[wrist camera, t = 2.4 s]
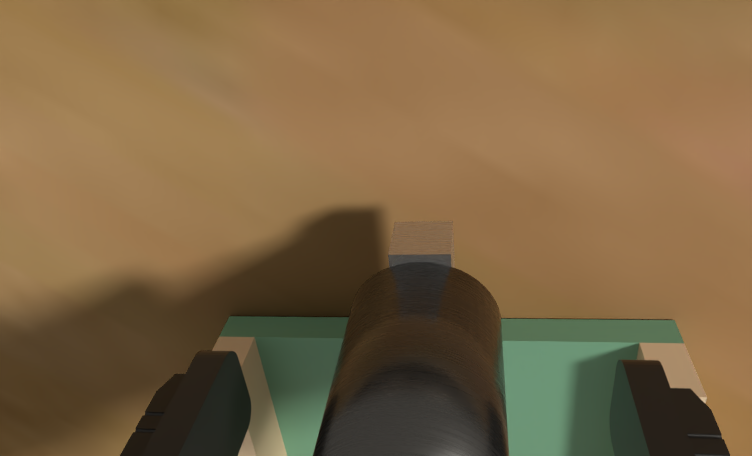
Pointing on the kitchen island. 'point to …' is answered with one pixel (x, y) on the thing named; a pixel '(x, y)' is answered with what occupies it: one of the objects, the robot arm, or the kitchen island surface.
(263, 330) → the pitch
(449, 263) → the striker
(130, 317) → the kitchen island surface
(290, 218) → the kitchen island surface
